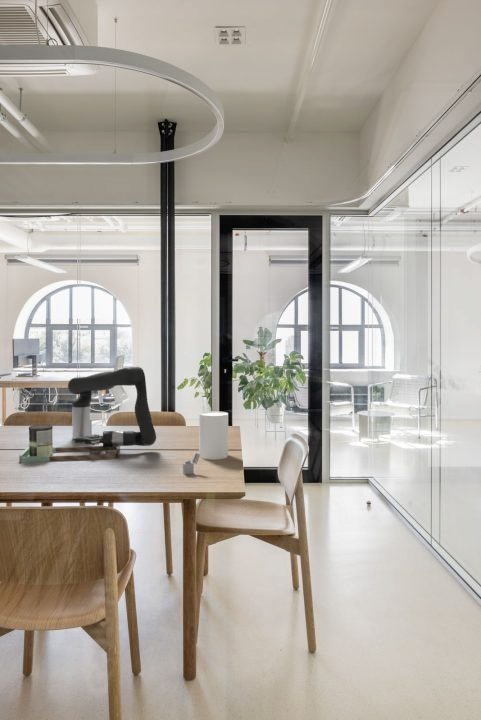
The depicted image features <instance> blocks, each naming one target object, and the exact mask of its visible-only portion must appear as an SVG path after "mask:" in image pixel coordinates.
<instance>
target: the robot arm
mask: <svg viewBox="0 0 481 720" xmlns="http://www.w3.org/2000/svg"><path fill="white" fill-rule="evenodd" d="M146 381H147V380H146V375H145V371H144V369H143V368H142V367H140V366H126V367H122V368H119V369H117V370H114V371H103V372H99V373H95V374H91V375H88V376H77V377H76V376H75V377H73V378H71V379H69V381H68V383H67V384H68V385H67V388H68V391H69V392H70V393H71V394H73V395H78V397H77V398H76V399H74V400H73V401H72V406H71V409H72V411H71V412H72V415H71V416H72V420H71V421H72V439H74V443H75V444H79V443H80V444H85V445H88V446H98V445H100V444H102V446H103V447H132V446H136V447H137V446H138V447H139V446H140V447H148V446H152V445H154V444H155V442H156V440H157V433H156V430H155V428H154V425H153V420H152V415H151V411H150V407H149V403H148V395H147V393H148V391H147V382H146ZM116 386H131V387H132V386H135V389H136V400H135V405H134V415H135V418H136V422H137V425H138V428H139V431H134V430H124V431H123V430H122V431H121V430H108V431H107V430H105V431H103V432H102V435H100V434H95V433H94V434H92V433H93V431H92V430H93V427H92V426H93V425H92V424H93V423H92V419H91V402H92V391H93V392H94V391H95V392H98V391H101V392H102V391H107V390H111V389H113V388H114V387H116Z"/></svg>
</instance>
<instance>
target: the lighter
mask: <svg viewBox="0 0 481 720" xmlns="http://www.w3.org/2000/svg"><path fill="white" fill-rule="evenodd" d="M199 460H200V454H199V452H196V453H195V455H194V456H193V459H192V461H191V460H185V461H184V462H183V463H182V474H183V476H185V475H192V474H194V468H195V467H194V466H195V465H197V464H198V461H199ZM194 464H195V465H194Z"/></svg>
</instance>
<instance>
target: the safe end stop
mask: <svg viewBox="0 0 481 720" xmlns="http://www.w3.org/2000/svg"><path fill="white" fill-rule="evenodd" d="M56 447H57V446H56ZM56 447H55V446H54V447H53V453H57V452H56ZM18 458H21V460H20V459H19V461H18V462H19V463H33V462H34V463H36V462H38V463H39V462H51V461H50V456H30V457H29V445H28V446H27V447H26V448H25V449H24V450H23V451H22V452H21V453H20V454H19V456H18ZM20 461H21V462H20Z"/></svg>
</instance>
